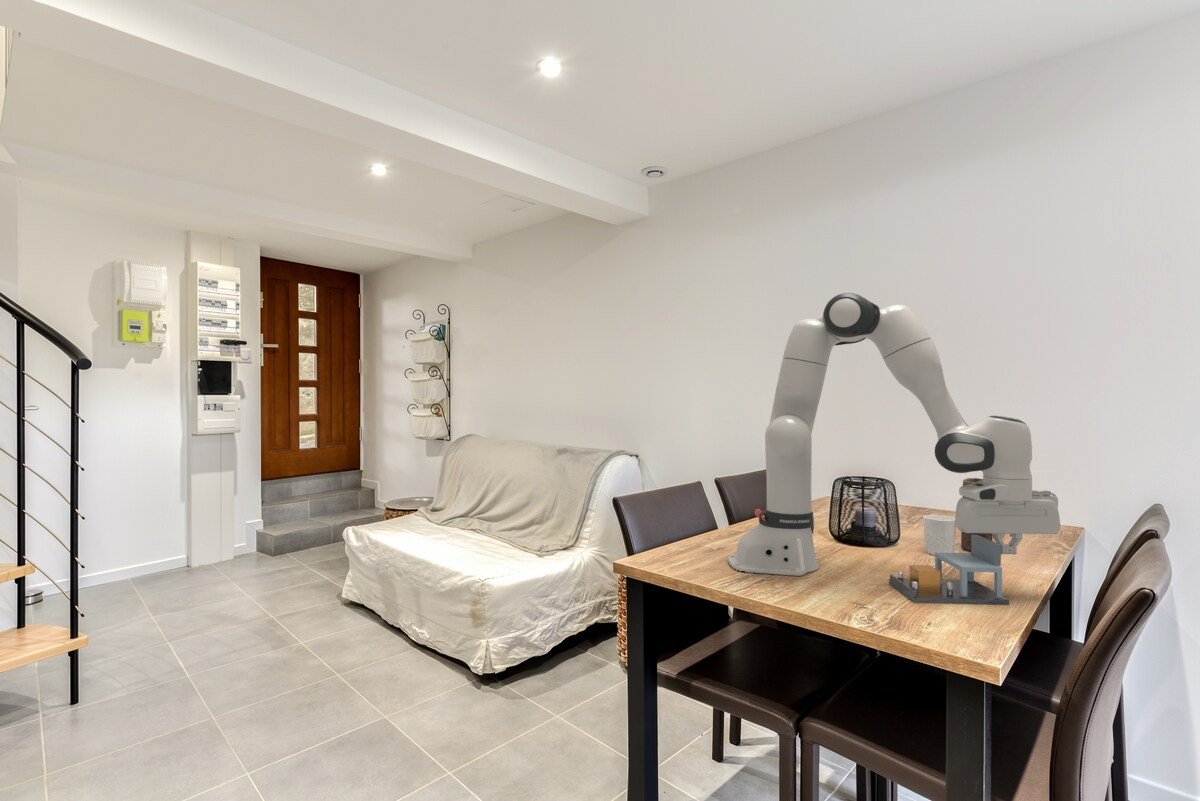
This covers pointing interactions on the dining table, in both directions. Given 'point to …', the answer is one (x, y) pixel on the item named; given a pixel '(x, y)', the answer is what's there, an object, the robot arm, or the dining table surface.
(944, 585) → the base plate
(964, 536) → the dark brown cylinder
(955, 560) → the grey miniature chair
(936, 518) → the white cup
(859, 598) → the dining table surface
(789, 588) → the dining table surface
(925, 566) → the brown block
